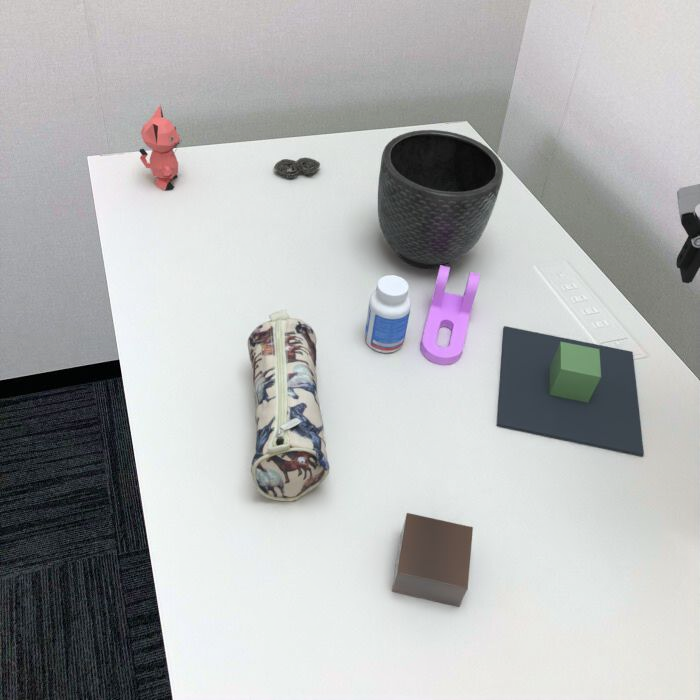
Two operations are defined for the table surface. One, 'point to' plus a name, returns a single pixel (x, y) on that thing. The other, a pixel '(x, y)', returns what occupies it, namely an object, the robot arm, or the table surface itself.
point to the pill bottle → (388, 314)
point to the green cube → (575, 372)
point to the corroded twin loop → (296, 167)
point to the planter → (436, 195)
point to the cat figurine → (161, 149)
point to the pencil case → (286, 409)
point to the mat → (561, 413)
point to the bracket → (448, 319)
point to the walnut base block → (433, 560)
